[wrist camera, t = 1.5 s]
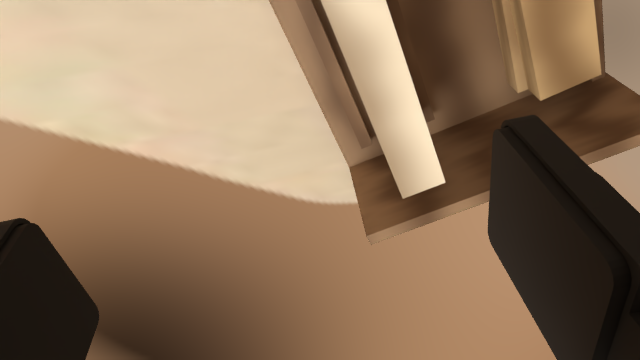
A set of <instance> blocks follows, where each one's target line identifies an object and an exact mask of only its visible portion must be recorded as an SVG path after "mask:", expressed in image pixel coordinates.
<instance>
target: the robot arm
mask: <svg viewBox="0 0 640 360" xmlns="http://www.w3.org/2000/svg"><path fill="white" fill-rule="evenodd" d="M488 235H489V239H490V242H491V245H492V246H493V248H494V250H495V252H496V254H497V255H498V257H499V259H500V260H501V262H502V264H503V266H504V268H505V269H506V271H507V273H508V274H509V276H510V278H511V280H512V282H513V283H514V285H515V287H516V289H517V290H518V292H519V294H520V295H521V297H522V299H523V301H524V303H525V304H526V306H527V308H528V310H529V311H530V313H531V315H532V317H533V318H534V320H535V322H536V324H537V325H538V327H539V329H540V330H541V332H542V334H543V336H544V338H545V339H546V341H547V343H548V345H549V346H550V348H551V350H552V352H553V353H554V355H555V357H556V359H557V360H640V213H639V212H638V211H637V210H636V209H635V208H634V207H633V206H631V204H630V203H629V202H628V201H626V200H625V199H624V198H623V197H622V196H621V195H620V194H619V193H618V192H617V191H616V190H615V189H614V188H613V187H612V186H611V185H610V184H609V183H608V182H607V181H606V180H605V179H604V178H603V177H601V176H600V175H599V174H597V173H596V172H594V171H593V170H592V169H591V168H590V167H589V166H588V165H587V164H586V163H585V162H584V161H583V160H582V159H581V158H580V157H579V156H578V155H577V154H576V153H575V152H574V151H573V150H572V149H571V148H570V147H569V146H568V145H566V144H565V143H564V142H563V141H562V140H561V139H560V138H559V137H558V136H557V135H556V134H555V133H554V132H553V131H552V130H551V129H550V128H549V127H548V126H547V125H546V124H545V123H544V122H543V121H542V120H541V119H540V118H539V117H538V116H536V115H528V116H523V117H518V118H513V119H508V120H505V121H503V123H502V125H501V129H496V130H495V131H494V132H493V138H492V158H491V177H490V196H489V217H488ZM98 321H99V311H98V308H97V306H96V305H95V303H94V302H93V300H92V299H91V298H90V296H89V295H88V293H87V292H86V291H85V289H84V288H83V287H82V285H81V284H80V282H79V281H78V279H77V278H76V277H75V275H74V274H73V273H72V271H71V270H70V269H69V267H68V266H67V264H66V263H65V262H64V260H63V259H62V257H61V256H60V255H59V253H58V252H57V251H56V249H55V248H54V246H53V245H52V244H51V242H50V241H49V239H48V238H47V237H46V236H45V234H44V232H43V231H42V230H41V228H40V227H39V226H38V225H36V224H34V223H30V222H29V221H28V220H26V219H22V218H18V219H13V220H8V221H3V222H0V360H85V359H86V356H87V353H88V350H89V347H90V345H91V342H92V339H93V336H94V333H95V331H96V328H97V325H98Z"/></svg>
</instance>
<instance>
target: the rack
mask: <svg viewBox="0 0 640 360" xmlns="http://www.w3.org/2000/svg"><path fill="white" fill-rule="evenodd" d="M269 2H270V4H271V6H272V8H273V10H274V12H275V14H276V16H277V18H278V20H279V22H280V24H281V27H282V29H283V31H284V33H285V35H286V37H287V39H288V41H289V43H290V45H291V47H292V49H293V51H294V54H295V56H296V58H297V60H298V62H299V64H300V66H301V68H302V70H303V72H304V74H305V76H306V79H307V81H308V83H309V85H310V87H311V89H312V91H313V93H314V95H315V97H316V99H317V101H318V104H319V106H320V108H321V110H322V112H323V114H324V116H325V118H326V120H327V122H328V124H329V126H330V128H331V131H332V133H333V135H334V137H335V139H336V141H337V143H338V145H339V147H340V149H341V151H342V153H343V156H344V158H345V160H346V162H347V164H348V166H349V168H350V172H351V176H352V180H353V184H354V188H355V192H356V196H357V200H358V204H359V208H360V212H361V216H362V220H363V224H364V228H365V232H366V236H367V238H368V240H369V242H370V244H371V245H372V244H375V243H377V242H380V241H383V240H385V239H388V238H391V237H394V236H396V235H399V234H402V233H404V232H407V231H410V230H413V229H415V228H418V227H421V226H423V225H426V224H429V223H432V222H434V221H437V220H440V219H442V218H445V217H448V216H450V215H453V214H456V213H459V212H461V211H464V210H467V209H470V208H472V207H475V206H478V205H480V204H483V203H486V202H488V201H489V196H490V177H491V158H492V138H493V132H494V131H495V130H496V129H501V125H502V123H503V121H505V120H508V119H513V118H518V117H523V116H528V115H536V116H538V117H539V118H540V119H541V120H542V121H543V122H544V123H545V124H546V125H547V126H548V127H549V128H550V129H551V130H552V131H553V132H554V133H555V134H556V135H557V136H558V137H559V138H560V139H561V140H562V141H563V142H564V143H565V144H566V145H568V146H569V147H570V148H571V149H572V150H573V151H574V152H575V153H576V154H577V155H578V156H579V157H580V158H581V159H582V160H583V161H584V162H585V163H586V164H587V165H589V164H592V163H594V162H597V161H600V160H603V159H605V158H608V157H611V156H613V155H616V154H619V153H622V152H624V151H627V150H630V149H632V148H635V147H638V146H640V95H638V94H637V93H635V92H634V91H632V90H631V89H629V88H628V87H626V86H625V85H623V84H622V83H620V82H619V81H617V80H616V79H614V78H613V77H611V76H610V75H609V74H607V73H606V72H605V56H604V36H603V14H602V0H594V7H595V16H596V26H597V36H598V45H599V55H600V64H601V75H599V76H597V77H594V78H592V79H590V80H588V81H585V82H583V83H581V84H578V85H576V86H574V87H571V88H569V89H567V90H564V91H562V92H560V93H558V94H555V95H553V96H551V97H548V98H546V99H544V100H541V101H540V100H539V99H538V98H537V97H536V96H535V95H534V94H533V93H532V92H530V91H529V90H528V89H527V90H525V91H522V92H520V93H517V92H516V91H515V90H514V89H513V88H512V87H511V86H510V85H509V84H508V83H507V78H506V73H505V67H504V62H503V57H502V52H501V46H500V41H499V36H498V31H497V25H496V20H495V15H494V10H493V4H492V0H386V2H387V5H388V8H389V12H390V15H391V18H392V21H393V24H394V27H395V30H396V33H397V36H398V39H399V42H400V45H401V48H402V51H403V54H404V57H405V60H406V63H407V66H408V69H409V72H410V75H411V79H412V82H413V85H414V88H415V91H416V94H417V97H418V100H419V103H420V106H421V109H422V112H423V115H424V118H425V121H426V124H427V127H428V130H429V133H430V136H431V139H432V142H433V146H434V149H435V152H436V155H437V158H438V161H439V164H440V167H441V170H442V173H443V176H444V179H445V182H446V183H443V184H441V185H438V186H435V187H433V188H430V189H427V190H425V191H422V192H420V193H417V194H414V195H412V196H409V197H407V198H404V199H403V198H402V196H401V193H400V191H399V189H398V186H397V184H396V181H395V179H394V176H393V174H392V172H391V169H390V167H389V164H388V162H387V160H386V157H385V155H384V152H383V150H382V147H381V145H380V143H379V140H378V138H377V135H376V133H375V130H374V128H373V126H372V123H371V121H370V118H369V116H368V114H367V111H366V109H365V106H364V104H363V101H362V99H361V97H360V94H359V92H358V89H357V87H356V84H355V82H354V80H353V77H352V75H351V72H350V70H349V68H348V65H347V63H346V60H345V58H344V55H343V53H342V51H341V48H340V46H339V43H338V41H337V38H336V36H335V34H334V31H333V29H332V26H331V24H330V22H329V19H328V17H327V14H326V12H325V9H324V7H323V5H322V2H321V0H269Z"/></svg>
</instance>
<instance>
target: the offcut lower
mask: <svg viewBox="0 0 640 360" xmlns="http://www.w3.org/2000/svg"><path fill="white" fill-rule="evenodd" d="M492 4H493V10H494V15H495V20H496V25H497V31H498V36H499V41H500V46H501V52H502V57H503V62H504V67H505V73H506V78H507V83H508V84H509V85H510V86H511V87H512V88H513V89H514V90H515V91H516V92H517V93H520V92H522V91H525V90H527V89H528V86H527V81H526V76H525V72H524V67H523V62H522V58H521V53H520V48H519V44H518V39H517V34H516V30H515V25H514V20H513V16H512V11H511V6H510V2H509V0H492Z"/></svg>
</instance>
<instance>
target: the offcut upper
mask: <svg viewBox="0 0 640 360" xmlns="http://www.w3.org/2000/svg"><path fill="white" fill-rule="evenodd" d="M509 2H510V6H511V11H512V16H513V20H514V25H515V30H516V34H517V39H518V44H519V48H520V53H521V58H522V62H523V67H524V72H525V76H526V81H527V86H528V90H529V91H530V92H532V93H533V94H534V95H535V96H536V97H537V98H538V99H539V100H540V101H541V100H544V99H546V98H548V97H551V96H553V95H555V94H558V93H560V92H562V91H564V90H567V89H569V88H571V87H574V86H576V85H578V84H581V83H583V82H585V81H588V80H590V79H592V78H594V77H597V76H599V75H601V64H600V55H599V45H598V36H597V26H596V16H595V7H594V0H509Z"/></svg>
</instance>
